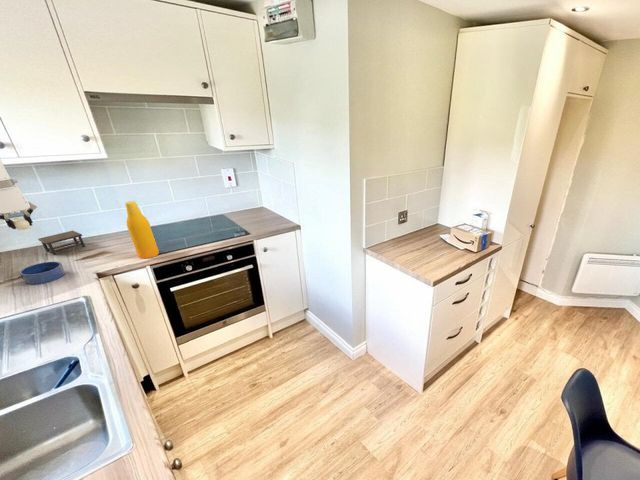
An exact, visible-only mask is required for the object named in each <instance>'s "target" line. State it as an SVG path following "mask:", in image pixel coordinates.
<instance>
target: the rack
mask: <svg viewBox="0 0 640 480" xmlns="http://www.w3.org/2000/svg"><path fill="white" fill-rule="evenodd" d="M82 237H83V234H82V233H79V232H77V231H74V230H69V231H65V232H61V233H56V234H52V235H47V236H43V237H41V238H37V240H38V241H39V242H41V244H42V246H43V248H44V250H45V252H46V253H48V252H49V253H50V254H52V255H53V256H57V252H60V251H64V250H68V249H72V248H75V247H79V246H82V248H86V244H85V242H84V240H83V238H82ZM77 238H78V239H77ZM72 239H73V241H70V242H68V243H63V244H60V245H59V244H58V245H55V246H53V245H52V244H56V243H61V242H64V241H68V240H72Z"/></svg>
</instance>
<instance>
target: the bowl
mask: <svg viewBox="0 0 640 480" xmlns="http://www.w3.org/2000/svg"><path fill="white" fill-rule="evenodd" d="M65 274H66V270H65V268H64V266H63V264H62V262H60V261H45V262H38V263H35V264H32V265H29V266H27V267H24V268H22V269H21V270H19V275H20V277H21V278H22V280H23V282H24V283H25V284H30V285H40V284H41V283H42V284H46V282H47V283H50V282H52V281H55V280H56V281H57V280H58V279H60V278H62V277H63V276H64V275H65ZM61 276H62V277H61Z"/></svg>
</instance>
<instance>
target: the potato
mask: <svg viewBox="0 0 640 480" xmlns="http://www.w3.org/2000/svg"><path fill="white" fill-rule="evenodd" d="M11 220H12V222H13V223H14V225H15V227H16V229H15V230H18V231H20V232H21V231H25V230H29V229H31V226H30V224H29V222H28V221H27V220H25V219H24V218H22V217H14V218H13V219H11Z"/></svg>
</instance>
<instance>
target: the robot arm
mask: <svg viewBox="0 0 640 480" xmlns="http://www.w3.org/2000/svg"><path fill="white" fill-rule="evenodd" d="M18 182H19V181H18V180H17V179H12V178H11V176H10V174H9V173H8V171H7V168H6V167H5V165H4V163H3V161H2V159H1V158H0V219H1V220H3V221H5V223H6V225H7V227H8V228H11V229H12V230H17V229H16V227H15V225H14V223H13V222H12V220H13V219H11V218H10V216H9V214H11V213H17V212H21V214H23V219H24V220H27V221H28V222H29V224H30V226H29V227H31V226H33V220H32V218H31V215H32V213H33V212H34V211H35V210H36V209H37V208H38V206H37V205H36V204H33V203H31V202H30V201H28V199H27V198H26V196H25V195H24V194H23V192H22V191H21V189H20V188H19V187H18V186H17V185H15V184H16V183H17V184H18Z"/></svg>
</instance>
